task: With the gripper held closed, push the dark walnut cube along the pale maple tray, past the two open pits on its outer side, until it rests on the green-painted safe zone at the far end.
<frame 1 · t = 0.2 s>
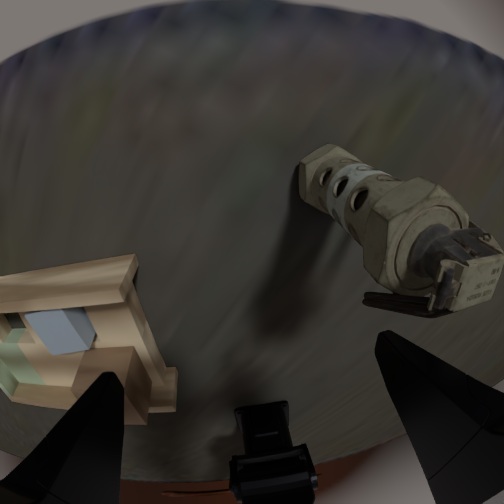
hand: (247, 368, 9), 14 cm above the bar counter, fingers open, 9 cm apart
trapped block: (73, 301, 23), resting in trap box
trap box: (60, 330, 24), on the bar counter
walnut block: (119, 366, 24), point 2 cm above the bar counter, touching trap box
grenade model: (336, 187, 22), on the bar counter
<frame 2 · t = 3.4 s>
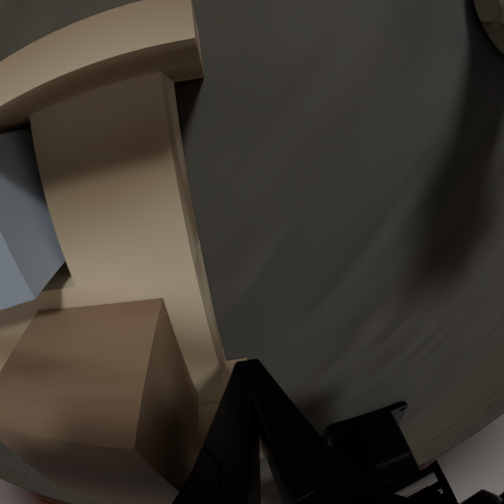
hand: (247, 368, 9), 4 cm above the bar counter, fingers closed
trapped block: (28, 200, 9), resting in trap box
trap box: (5, 280, 10), on the bar counter
walnut block: (118, 359, 10), point 3 cm above the bar counter, touching gripper, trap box
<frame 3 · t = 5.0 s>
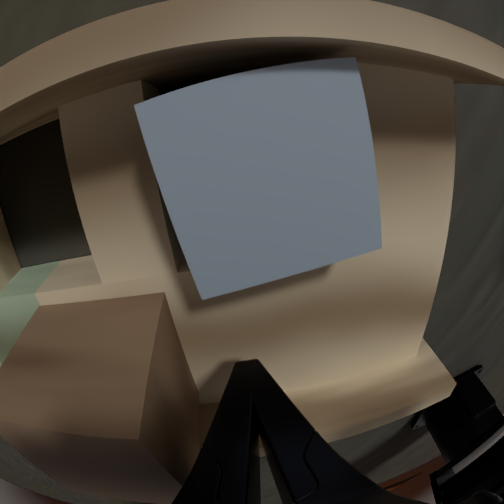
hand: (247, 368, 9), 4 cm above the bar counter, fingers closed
trapped block: (249, 153, 10), resting in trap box
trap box: (174, 253, 11), on the bar counter
walnut block: (119, 355, 10), point 3 cm above the bar counter, touching gripper
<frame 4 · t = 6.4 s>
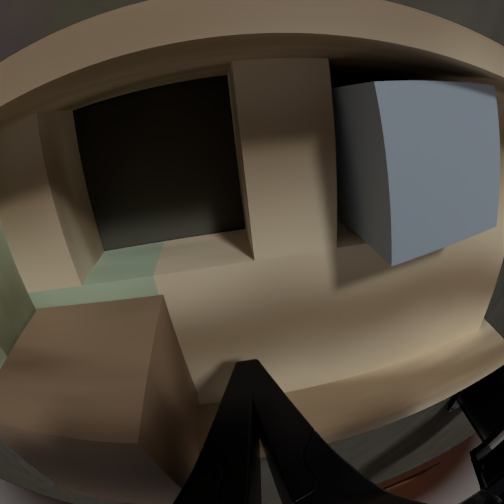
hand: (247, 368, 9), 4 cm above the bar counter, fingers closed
trapped block: (374, 143, 10), resting in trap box
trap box: (299, 233, 11), on the bar counter
walnut block: (118, 357, 10), point 2 cm above the bar counter, touching gripper, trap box
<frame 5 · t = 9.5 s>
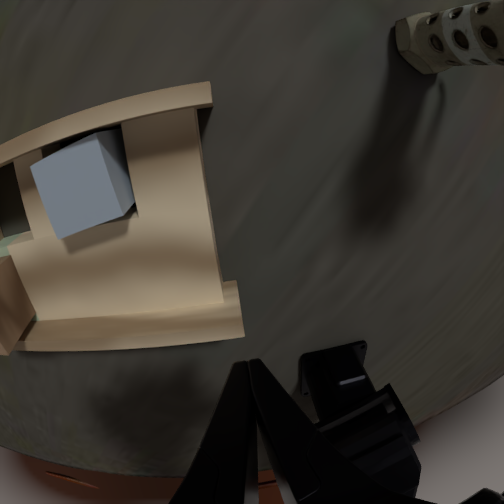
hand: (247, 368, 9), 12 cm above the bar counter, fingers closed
trapped block: (102, 172, 17), resting in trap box
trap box: (73, 227, 18), on the bar counter
walnut block: (3, 287, 17), point 2 cm above the bar counter, touching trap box
grenade model: (426, 58, 15), on the bar counter
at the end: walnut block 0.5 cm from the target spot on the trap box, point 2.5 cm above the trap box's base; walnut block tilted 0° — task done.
